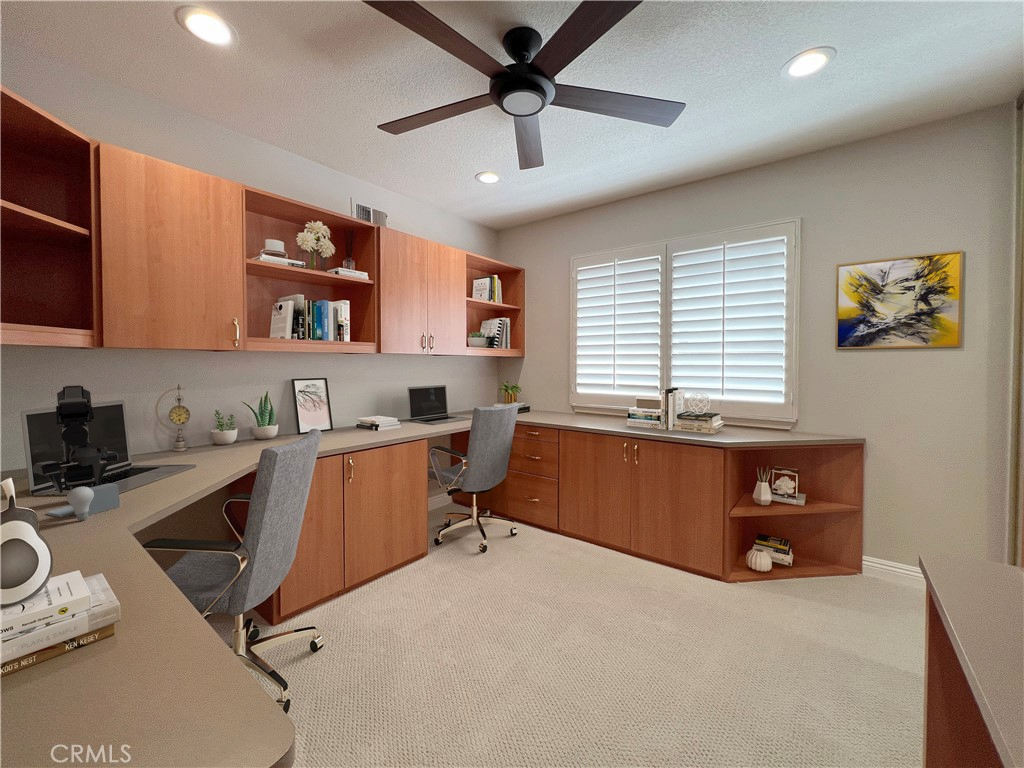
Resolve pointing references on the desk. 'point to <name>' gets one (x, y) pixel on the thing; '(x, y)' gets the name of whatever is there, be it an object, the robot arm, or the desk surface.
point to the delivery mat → (62, 512)
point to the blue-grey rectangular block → (104, 498)
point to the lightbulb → (80, 501)
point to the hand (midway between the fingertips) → (80, 488)
